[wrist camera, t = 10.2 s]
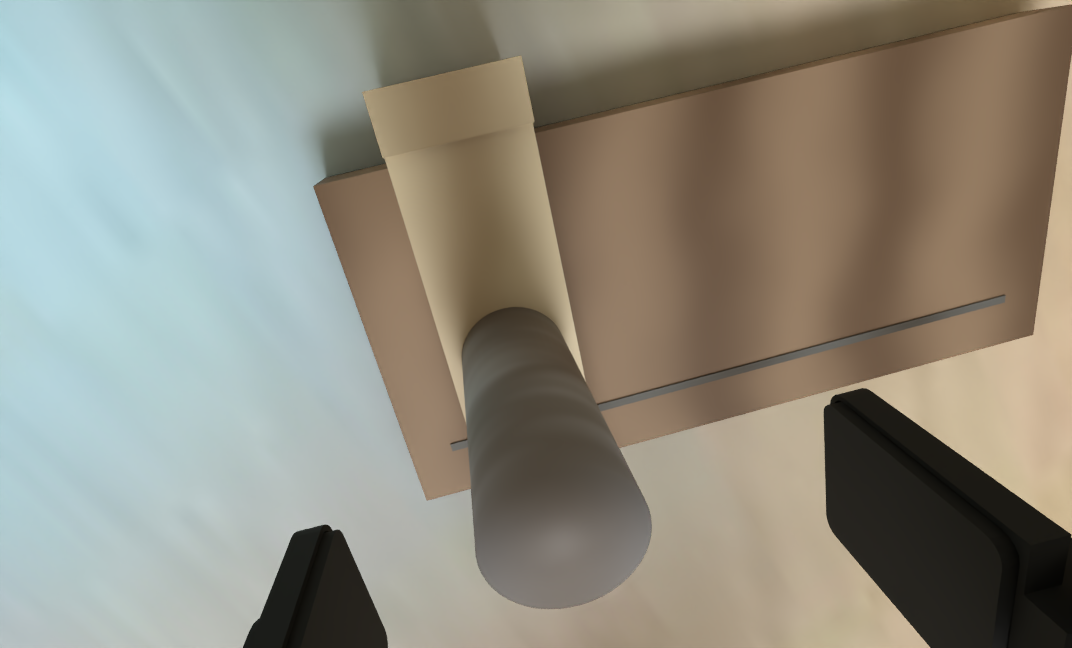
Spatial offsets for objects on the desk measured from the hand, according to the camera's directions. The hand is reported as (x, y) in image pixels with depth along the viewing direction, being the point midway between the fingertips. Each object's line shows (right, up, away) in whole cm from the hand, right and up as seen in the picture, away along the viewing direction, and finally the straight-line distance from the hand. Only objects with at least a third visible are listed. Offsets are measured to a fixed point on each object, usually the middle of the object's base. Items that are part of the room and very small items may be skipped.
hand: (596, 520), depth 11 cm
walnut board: (+5, +6, +11) cm, 14 cm away
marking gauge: (-2, +4, +11) cm, 12 cm away
